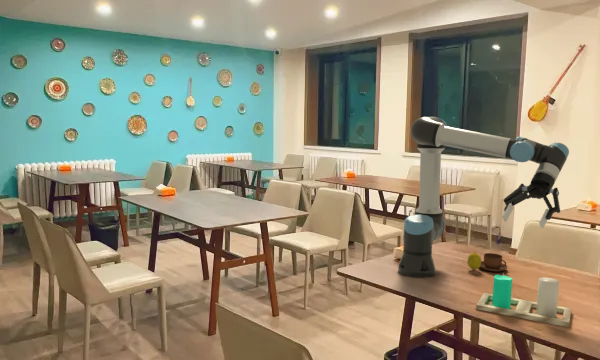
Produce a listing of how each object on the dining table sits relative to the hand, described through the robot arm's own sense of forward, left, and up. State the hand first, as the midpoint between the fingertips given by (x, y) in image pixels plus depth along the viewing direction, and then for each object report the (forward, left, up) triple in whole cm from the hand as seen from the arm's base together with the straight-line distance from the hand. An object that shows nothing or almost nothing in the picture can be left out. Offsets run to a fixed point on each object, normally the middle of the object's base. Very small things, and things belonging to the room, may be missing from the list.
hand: (522, 222), depth 181 cm
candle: (-3, -14, -28) cm, 31 cm away
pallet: (+4, -14, -28) cm, 31 cm away
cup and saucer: (-14, +31, -28) cm, 44 cm away
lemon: (-20, +24, -28) cm, 42 cm away
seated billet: (+11, -14, -28) cm, 33 cm away
